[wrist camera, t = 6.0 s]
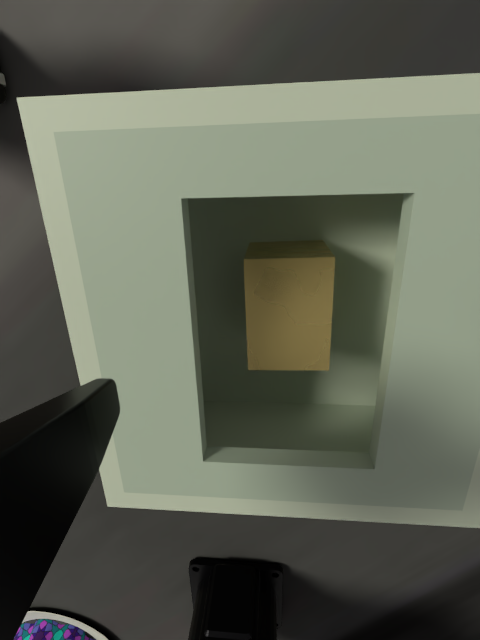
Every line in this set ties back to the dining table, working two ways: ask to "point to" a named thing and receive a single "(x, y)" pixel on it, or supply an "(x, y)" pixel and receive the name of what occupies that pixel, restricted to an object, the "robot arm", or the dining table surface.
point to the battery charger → (2, 88)
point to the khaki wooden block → (289, 305)
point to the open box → (229, 290)
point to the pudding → (54, 628)
